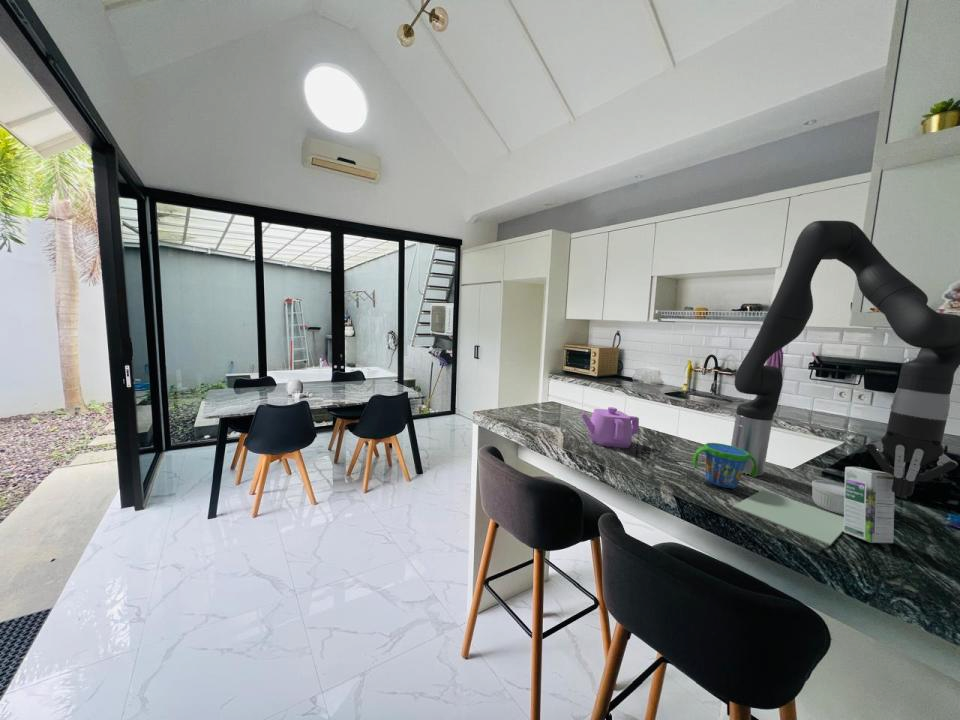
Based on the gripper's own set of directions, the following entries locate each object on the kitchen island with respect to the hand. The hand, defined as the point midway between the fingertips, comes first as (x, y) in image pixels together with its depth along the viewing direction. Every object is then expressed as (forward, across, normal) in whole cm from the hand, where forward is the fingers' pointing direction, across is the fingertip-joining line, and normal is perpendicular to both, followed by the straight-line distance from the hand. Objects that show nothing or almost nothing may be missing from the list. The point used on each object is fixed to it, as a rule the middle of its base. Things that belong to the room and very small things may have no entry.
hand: (900, 496), depth 79 cm
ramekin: (+12, +11, -16) cm, 23 cm away
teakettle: (+12, +73, -6) cm, 74 cm away
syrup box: (+11, +3, 0) cm, 12 cm away
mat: (+11, +16, +1) cm, 20 cm away
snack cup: (+12, +33, -3) cm, 35 cm away
